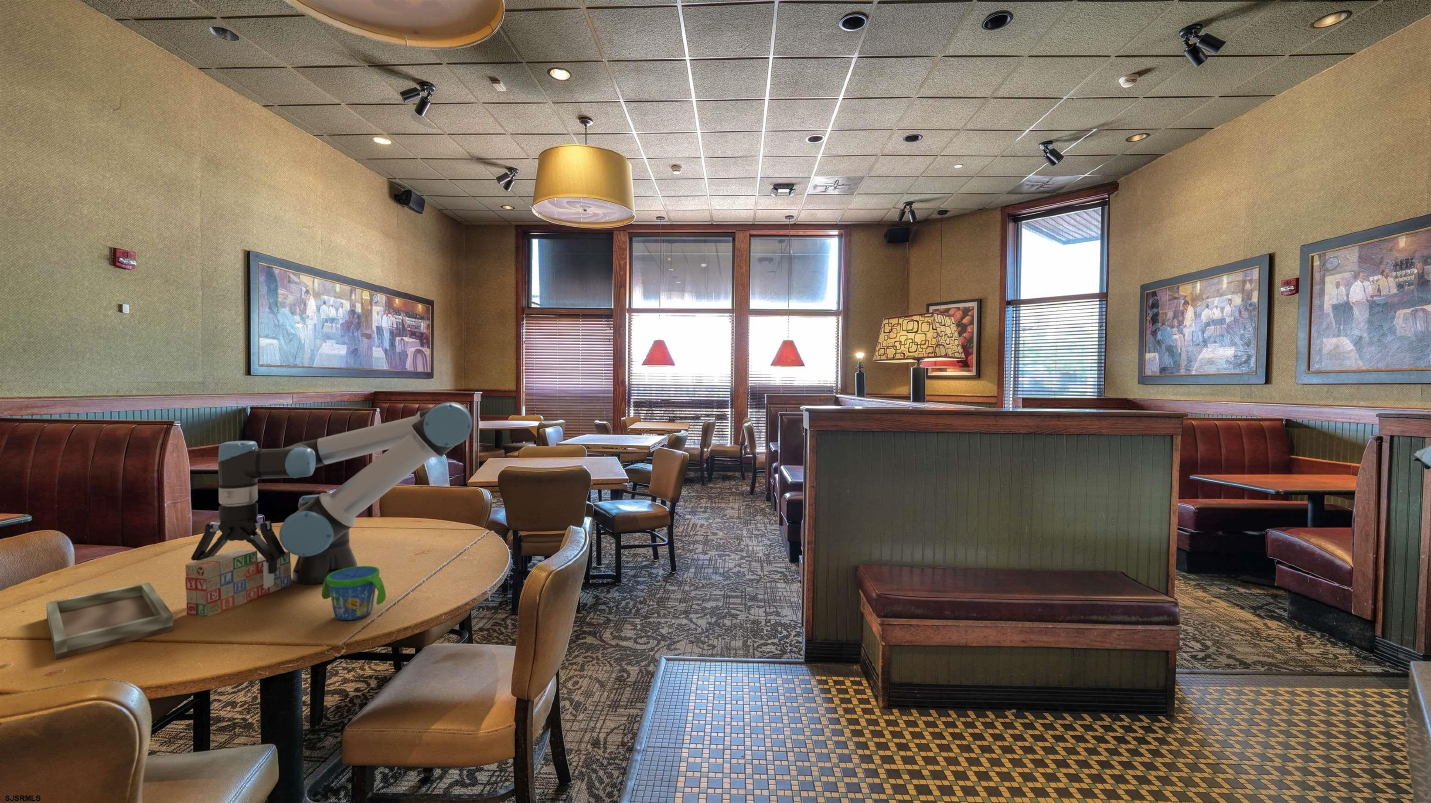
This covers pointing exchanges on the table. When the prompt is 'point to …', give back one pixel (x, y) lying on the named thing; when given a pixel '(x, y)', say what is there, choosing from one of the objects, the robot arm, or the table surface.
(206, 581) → the stack of blocks
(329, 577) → the snack cup
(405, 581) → the table surface
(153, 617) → the grey rectangular tray
